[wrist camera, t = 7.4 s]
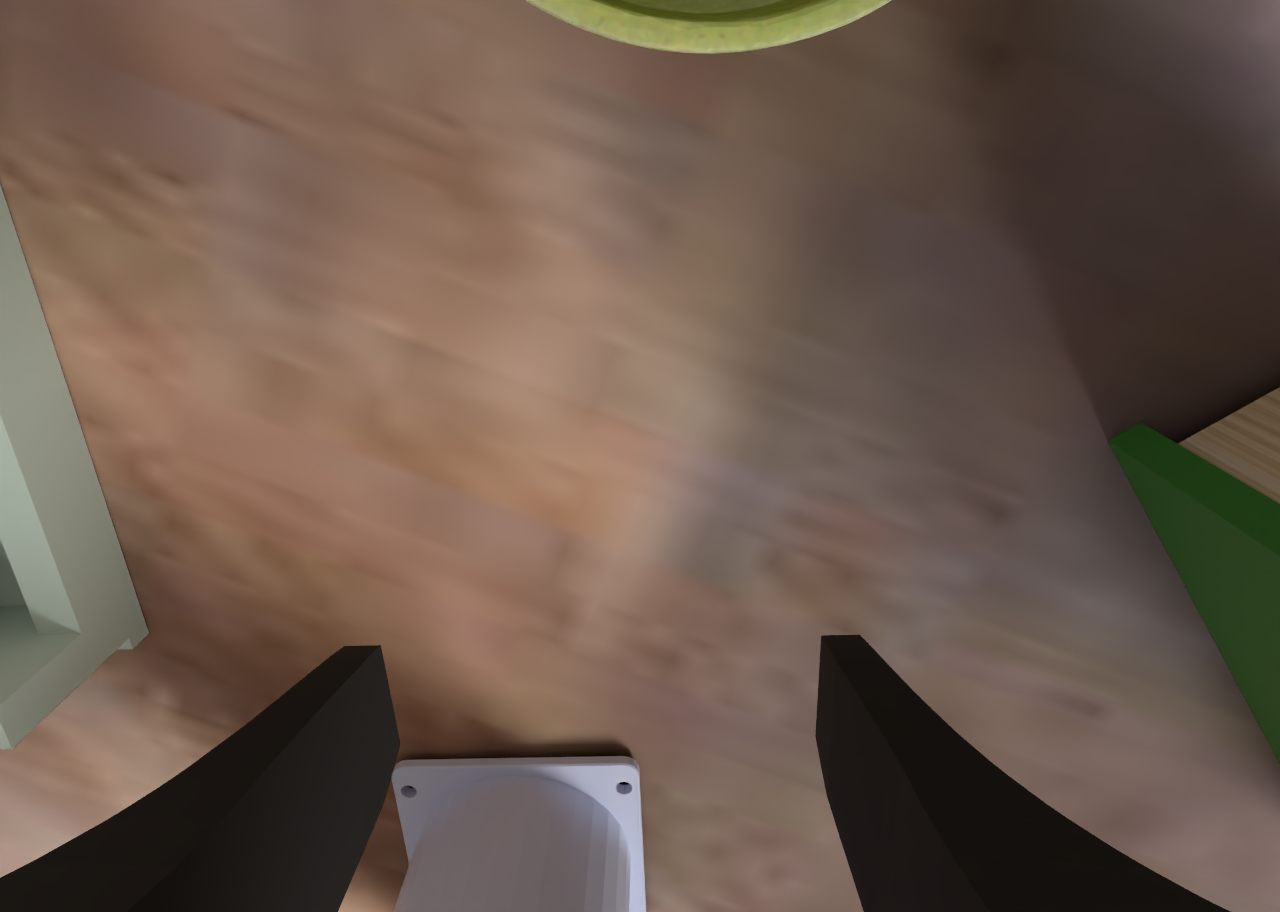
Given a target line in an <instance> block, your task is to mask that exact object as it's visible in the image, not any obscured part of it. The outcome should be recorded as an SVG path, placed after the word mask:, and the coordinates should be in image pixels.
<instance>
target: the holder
mask: <svg viewBox="0 0 1280 912" xmlns="http://www.w3.org/2000/svg"><path fill="white" fill-rule="evenodd" d="M148 634H149V632H148V629H147V626H146V623H145V620H144V617H143V614H142V611H141V608H140V605H139V602H138V599H137V595H136V592H135V589H134V586H133V583H132V580H131V577H130V574H129V571H128V568H127V565H126V562H125V559H124V556H123V553H122V550H121V547H120V544H119V541H118V538H117V535H116V532H115V529H114V526H113V523H112V520H111V517H110V514H109V511H108V508H107V505H106V502H105V499H104V496H103V493H102V490H101V487H100V484H99V481H98V478H97V475H96V472H95V469H94V466H93V463H92V460H91V457H90V454H89V451H88V448H87V445H86V442H85V438H84V435H83V432H82V429H81V426H80V423H79V420H78V417H77V414H76V411H75V408H74V405H73V402H72V399H71V396H70V393H69V390H68V387H67V384H66V381H65V378H64V375H63V372H62V369H61V366H60V363H59V360H58V357H57V354H56V351H55V348H54V345H53V342H52V339H51V336H50V333H49V330H48V327H47V324H46V321H45V318H44V315H43V312H42V309H41V306H40V303H39V300H38V297H37V294H36V291H35V288H34V285H33V281H32V278H31V275H30V272H29V269H28V266H27V263H26V260H25V257H24V254H23V251H22V248H21V245H20V242H19V239H18V236H17V233H16V230H15V227H14V224H13V221H12V218H11V215H10V212H9V209H8V206H7V203H6V200H5V197H4V194H3V191H2V188H1V185H0V749H13V748H14V747H15V746H16V745H17V744H18V743H19V742H20V741H21V740H23V739H24V738H25V737H26V736H27V735H28V734H29V733H30V732H31V731H32V730H33V729H34V728H35V727H36V726H37V725H38V724H39V723H40V722H41V721H42V720H43V719H45V718H46V717H47V716H48V715H49V714H50V713H51V712H52V711H53V710H54V709H55V708H56V707H57V706H58V705H59V704H60V703H61V702H62V701H63V700H64V699H66V698H67V697H68V696H69V695H70V694H71V693H72V692H73V691H74V690H75V689H76V688H77V687H78V686H79V685H80V684H81V683H82V682H83V681H84V680H85V679H86V678H88V677H89V676H90V675H91V674H92V673H93V672H94V671H95V670H96V669H97V668H98V667H99V666H100V665H101V664H102V663H103V662H104V661H105V660H106V659H107V658H109V657H110V656H111V655H112V654H113V653H114V652H115V651H116V650H124V649H134V648H135V647H136V646H137V645H138V644H139V643H140V642H141V641H142V640H143V639H144V638H145V637H146V636H147V635H148Z"/></svg>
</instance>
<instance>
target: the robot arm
mask: <svg viewBox="0 0 1280 912" xmlns="http://www.w3.org/2000/svg"><path fill="white" fill-rule="evenodd" d="M816 741H817V747H818V752H819V758H820V763H821V768H822V773H823V778H824V783H825V788H826V793H827V797H828V800H829V804H830V807H831V810H832V813H833V817H834V820H835V823H836V826H837V829H838V832H839V836H840V839H841V842H842V845H843V848H844V851H845V854H846V858H847V861H848V864H849V867H850V870H851V873H852V876H853V879H854V882H855V885H856V889H857V892H858V895H859V898H860V901H861V904H862V907H863V910H864V912H1230V911H1228V910H1226V909H1224V908H1222V907H1220V906H1218V905H1215V904H1213V903H1211V902H1209V901H1208V900H1206V899H1204V898H1202V897H1200V896H1198V895H1196V894H1194V893H1192V892H1191V891H1189V890H1187V889H1185V888H1183V887H1181V886H1180V885H1178V884H1176V883H1174V882H1172V881H1170V880H1169V879H1167V878H1165V877H1163V876H1161V875H1159V874H1158V873H1156V872H1154V871H1152V870H1150V869H1149V868H1147V867H1145V866H1143V865H1142V864H1140V863H1138V862H1137V861H1135V860H1133V859H1131V858H1130V857H1128V856H1126V855H1125V854H1123V853H1121V852H1119V851H1118V850H1116V849H1114V848H1113V847H1111V846H1110V845H1108V844H1107V843H1105V842H1103V841H1102V840H1100V839H1099V838H1097V837H1096V836H1094V835H1092V834H1091V833H1089V832H1088V831H1086V830H1085V829H1083V828H1081V827H1080V826H1078V825H1077V824H1075V823H1074V822H1072V821H1071V820H1069V819H1068V818H1066V817H1065V816H1063V815H1062V814H1060V813H1059V812H1057V811H1056V810H1054V809H1053V808H1051V807H1050V806H1049V805H1047V804H1046V803H1044V802H1043V801H1042V800H1040V799H1039V798H1038V797H1036V796H1035V795H1034V794H1032V793H1031V792H1029V791H1028V790H1027V789H1025V788H1024V787H1023V786H1021V785H1020V784H1019V783H1017V782H1016V781H1015V780H1013V779H1012V778H1011V777H1009V776H1008V775H1007V774H1005V773H1004V772H1003V771H1002V770H1000V769H999V768H998V767H997V766H995V765H994V764H993V763H992V762H990V761H989V760H988V759H987V758H986V757H984V756H983V755H982V754H981V753H980V752H979V751H977V750H976V749H975V748H974V747H973V746H972V745H970V744H969V743H968V742H967V741H966V740H965V739H963V738H962V737H961V736H960V735H959V734H958V733H957V732H956V731H954V730H953V729H952V728H951V727H950V726H949V725H948V724H947V723H946V722H945V721H944V720H943V719H942V718H941V717H940V716H939V715H938V714H937V713H935V712H934V711H933V710H932V709H931V708H930V707H929V706H928V705H927V704H926V703H925V702H924V701H923V700H922V699H921V698H920V697H919V696H918V695H917V694H916V693H915V692H914V691H913V690H912V689H911V688H910V687H909V686H908V685H907V684H906V683H905V682H904V681H903V680H902V679H901V678H900V677H899V676H898V674H897V673H896V672H895V671H894V670H893V669H892V668H891V667H890V666H889V665H888V664H887V663H886V662H885V661H884V660H883V659H882V658H881V657H880V655H879V654H878V653H877V652H876V651H875V650H874V649H873V648H872V647H871V646H870V645H869V644H868V643H867V642H866V641H865V640H864V639H863V638H862V637H861V636H860V635H828V636H821V651H820V668H819V685H818V702H817V719H816ZM399 746H400V740H399V735H398V730H397V725H396V720H395V715H394V710H393V705H392V700H391V695H390V690H389V685H388V680H387V675H386V670H385V665H384V660H383V654H382V649H381V645H378V646H344V647H343V648H341V649H340V650H339V651H337V652H336V653H334V654H333V655H332V656H330V657H329V658H328V659H327V660H325V661H324V662H323V663H322V664H320V665H319V666H318V667H317V668H315V669H314V670H313V671H312V672H310V673H309V674H308V675H307V676H306V677H304V678H303V679H302V680H301V681H299V682H298V683H297V684H296V685H295V686H293V687H292V688H291V689H290V690H288V691H287V692H286V693H285V694H284V695H282V696H281V697H280V698H279V699H277V700H276V701H275V702H274V703H272V704H271V705H270V706H269V707H267V708H266V709H265V710H264V711H262V712H261V713H260V714H259V715H257V716H256V717H255V718H254V719H252V720H251V721H250V722H249V723H247V724H246V725H245V726H243V727H242V728H241V729H239V730H238V731H237V732H235V733H234V734H233V735H231V736H230V737H229V738H227V739H226V740H225V741H223V742H222V743H221V744H219V745H218V746H216V747H215V748H214V749H212V750H211V751H210V752H208V753H207V754H206V755H204V756H203V757H202V758H200V759H199V760H198V761H196V762H195V763H194V764H192V765H191V766H189V767H188V768H187V769H185V770H184V771H182V772H181V773H179V774H178V775H177V776H175V777H174V778H172V779H171V780H169V781H168V782H166V783H165V784H163V785H162V786H160V787H159V788H157V789H156V790H154V791H153V792H151V793H149V794H148V795H146V796H145V797H143V798H142V799H140V800H138V801H137V802H135V803H134V804H132V805H130V806H129V807H127V808H126V809H124V810H123V811H121V812H119V813H118V814H116V815H114V816H113V817H111V818H109V819H108V820H106V821H104V822H103V823H101V824H99V825H97V826H95V827H94V828H92V829H90V830H88V831H86V832H85V833H83V834H81V835H79V836H78V837H76V838H74V839H72V840H70V841H69V842H67V843H65V844H63V845H61V846H60V847H58V848H56V849H54V850H52V851H51V852H49V853H47V854H45V855H44V856H42V857H40V858H38V859H36V860H34V861H33V862H31V863H29V864H27V865H25V866H23V867H21V868H19V869H17V870H15V871H13V872H11V873H9V874H7V875H5V876H3V877H1V878H0V912H338V910H339V907H340V905H341V903H342V900H343V898H344V896H345V893H346V891H347V889H348V886H349V884H350V882H351V879H352V877H353V875H354V872H355V870H356V868H357V865H358V863H359V861H360V858H361V856H362V854H363V851H364V849H365V847H366V844H367V842H368V840H369V837H370V835H371V832H372V830H373V828H374V825H375V823H376V820H377V818H378V816H379V813H380V811H381V808H382V806H383V803H384V800H385V797H386V793H387V790H388V787H389V783H390V780H391V779H392V784H393V789H394V793H395V798H396V803H397V808H398V813H399V818H400V822H401V827H402V832H403V837H404V842H405V846H406V851H407V856H408V861H409V867H408V870H407V873H406V876H405V879H404V882H403V884H402V887H401V890H400V893H399V896H398V899H397V902H396V905H395V908H394V911H393V912H646V893H645V873H644V854H643V834H642V815H641V795H640V775H639V766H638V763H637V762H636V761H635V760H634V759H632V758H630V757H626V756H595V757H538V758H480V759H423V760H403V761H400V762H399V763H397V764H396V766H395V768H394V765H395V761H396V758H397V754H398V750H399ZM393 769H394V770H393ZM391 776H392V778H391ZM620 782H627V783H629V784H627V785H622V784H620ZM407 785H408V786H412V787H414V788H409V787H407Z"/></svg>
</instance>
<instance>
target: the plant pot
mask: <svg viewBox="0 0 1280 912" xmlns="http://www.w3.org/2000/svg"><path fill="white" fill-rule="evenodd" d="M525 1H527V2H529V3H530V4H532V5H534V6H535V7H537V8H539V9H540V10H542V11H544V12H546V13H548V14H550V15H552V16H554V17H556V18H558V19H560V20H562V21H564V22H566V23H568V24H570V25H572V26H575V27H578V28H580V29H583V30H585V31H588V32H591V33H593V34H596V35H599V36H602V37H605V38H609V39H612V40H615V41H619V42H622V43H626V44H630V45H635V46H639V47H644V48H648V49H654V50H660V51H671V52H681V53H702V54H718V53H732V52H744V51H753V50H758V49H763V48H769V47H774V46H779V45H784V44H788V43H792V42H796V41H799V40H803V39H807V38H810V37H813V36H816V35H819V34H822V33H825V32H828V31H831V30H833V29H836V28H839V27H841V26H844V25H847V24H849V23H851V22H853V21H855V20H857V19H859V18H861V17H863V16H865V15H867V14H869V13H871V12H873V11H874V10H876V9H878V8H880V7H881V6H883V5H885V4H886V3H888V2H890V1H891V0H525Z"/></svg>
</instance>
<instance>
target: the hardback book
mask: <svg viewBox="0 0 1280 912" xmlns="http://www.w3.org/2000/svg"><path fill="white" fill-rule="evenodd" d="M1108 443H1109V444H1110V446H1111V448H1112V450H1113V452H1114V454H1115V456H1116V458H1117V459H1118V461H1119V463H1120V465H1121V467H1122V469H1123V471H1124V473H1125V474H1126V476H1127V478H1128V480H1129V482H1130V484H1131V486H1132V488H1133V489H1134V491H1135V493H1136V495H1137V497H1138V499H1139V501H1140V503H1141V504H1142V506H1143V508H1144V510H1145V512H1146V514H1147V516H1148V518H1149V519H1150V521H1151V523H1152V525H1153V527H1154V529H1155V531H1156V533H1157V534H1158V536H1159V538H1160V540H1161V542H1162V544H1163V546H1164V548H1165V549H1166V551H1167V553H1168V555H1169V557H1170V559H1171V561H1172V563H1173V564H1174V566H1175V568H1176V570H1177V572H1178V574H1179V576H1180V578H1181V579H1182V581H1183V583H1184V585H1185V587H1186V589H1187V591H1188V593H1189V594H1190V596H1191V598H1192V600H1193V602H1194V604H1195V606H1196V608H1197V609H1198V611H1199V613H1200V615H1201V617H1202V619H1203V621H1204V623H1205V624H1206V626H1207V628H1208V630H1209V632H1210V634H1211V636H1212V638H1213V639H1214V641H1215V643H1216V645H1217V647H1218V649H1219V651H1220V653H1221V654H1222V656H1223V658H1224V660H1225V662H1226V664H1227V666H1228V668H1229V669H1230V671H1231V673H1232V675H1233V677H1234V679H1235V681H1236V683H1237V685H1238V686H1239V688H1240V690H1241V692H1242V694H1243V696H1244V698H1245V700H1246V701H1247V703H1248V705H1249V707H1250V709H1251V711H1252V713H1253V715H1254V716H1255V718H1256V720H1257V722H1258V724H1259V726H1260V728H1261V730H1262V731H1263V733H1264V735H1265V737H1266V739H1267V741H1268V743H1269V745H1270V746H1271V748H1272V750H1273V752H1274V754H1275V756H1276V758H1277V760H1278V761H1279V763H1280V387H1279V388H1277V389H1275V390H1274V391H1272V392H1270V393H1268V394H1266V395H1265V396H1263V397H1261V398H1259V399H1257V400H1256V401H1254V402H1252V403H1250V404H1248V405H1247V406H1245V407H1243V408H1241V409H1239V410H1238V411H1236V412H1234V413H1232V414H1230V415H1229V416H1227V417H1225V418H1223V419H1221V420H1220V421H1218V422H1216V423H1214V424H1212V425H1211V426H1209V427H1207V428H1205V429H1203V430H1201V431H1200V432H1198V433H1196V434H1194V435H1192V436H1191V437H1189V438H1187V439H1185V440H1183V441H1182V442H1180V443H1178V444H1177V443H1175V442H1174V441H1172V440H1170V439H1169V438H1167V437H1165V436H1164V435H1162V434H1160V433H1158V432H1157V431H1155V430H1153V429H1152V428H1150V427H1148V426H1147V425H1145V424H1143V423H1141V422H1140V423H1138V424H1136V425H1135V426H1133V427H1131V428H1129V429H1128V430H1126V431H1124V432H1122V433H1121V434H1119V435H1117V436H1115V437H1114V438H1112V439H1110V440H1108Z"/></svg>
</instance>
